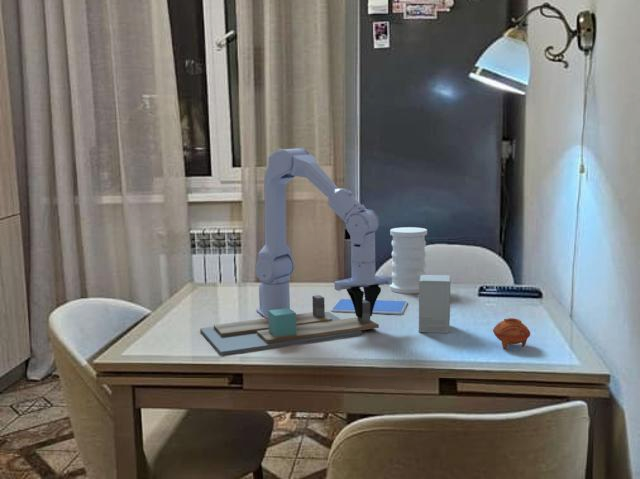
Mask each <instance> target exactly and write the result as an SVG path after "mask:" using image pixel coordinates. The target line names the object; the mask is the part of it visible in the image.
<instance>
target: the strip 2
mask: <svg viewBox="0 0 640 479" xmlns="http://www.w3.org/2000/svg"><path fill="white" fill-rule="evenodd" d="M362 312H363V313H362V318H359V317H357V316H356V317H350V318H343V319H341V320H334V321H327V322H319V323H312V324H305V325H297V326H296V334H293V335H286V336H279V337H275V336H274V335H273V334H272V333H270V332H269V329H267V330H260V331H257V335H258V336H260V337H261V338H262V339H263V340H264V341H265V342H266V343H267V344H268V343H275V342H282V341H289V340H296V339H303V338H310V337H317V336H324V335H331V334H339V333H346V332H353V331H366V330H371V329H378V328H380V326H379V323H377V322H375V321H373V320H372V319H371V316H370V302H368V301H366V300H365V299H363V302H362Z"/></svg>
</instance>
